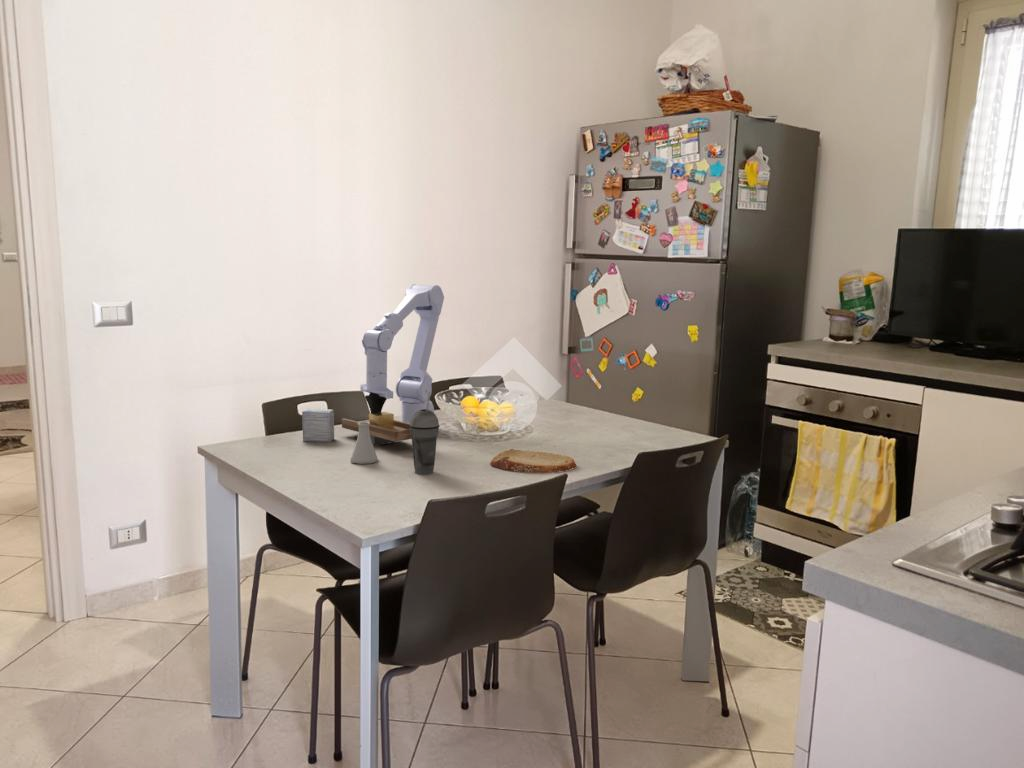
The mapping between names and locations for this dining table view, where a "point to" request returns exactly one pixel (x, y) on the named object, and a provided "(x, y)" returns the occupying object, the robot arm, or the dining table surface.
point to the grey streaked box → (318, 425)
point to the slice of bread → (532, 462)
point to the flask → (363, 446)
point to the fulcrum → (380, 440)
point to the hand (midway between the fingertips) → (376, 419)
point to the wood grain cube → (382, 419)
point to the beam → (382, 430)
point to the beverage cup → (424, 439)
